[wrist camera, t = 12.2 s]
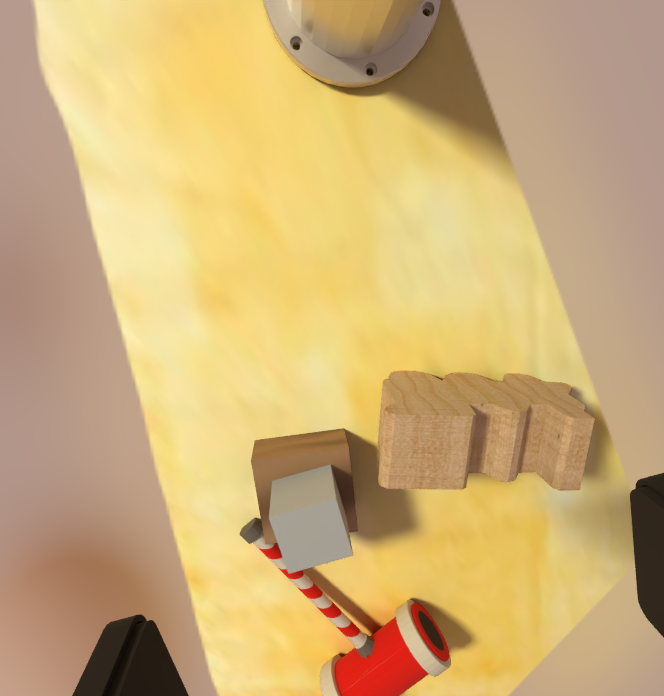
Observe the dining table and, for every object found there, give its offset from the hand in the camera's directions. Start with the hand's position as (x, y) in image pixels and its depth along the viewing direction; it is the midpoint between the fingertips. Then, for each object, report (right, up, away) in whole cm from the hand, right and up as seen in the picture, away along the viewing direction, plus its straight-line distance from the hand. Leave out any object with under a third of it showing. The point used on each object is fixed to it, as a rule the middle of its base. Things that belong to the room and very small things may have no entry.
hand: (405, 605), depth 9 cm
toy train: (+10, 0, +32) cm, 34 cm away
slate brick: (-3, -8, +29) cm, 30 cm away
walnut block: (-4, -7, +33) cm, 34 cm away
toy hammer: (-1, -21, +37) cm, 43 cm away
